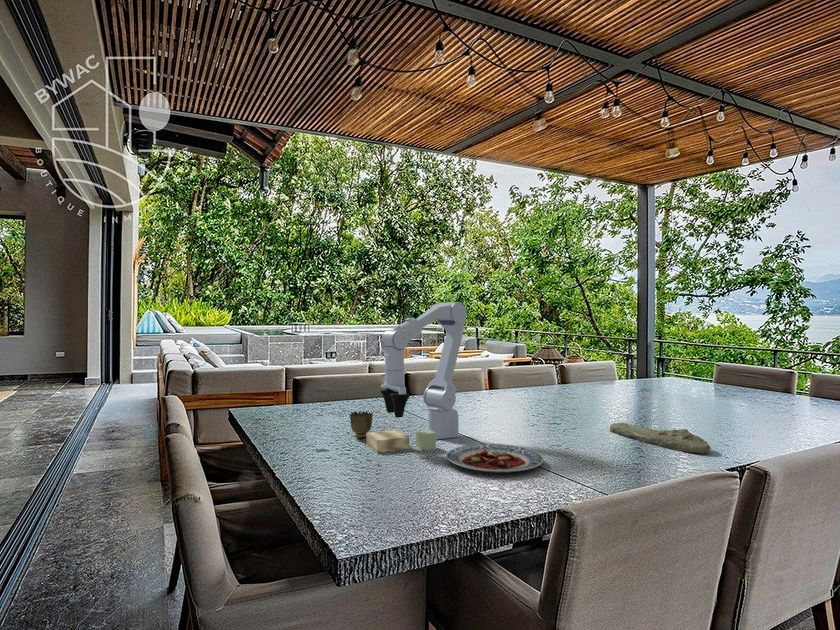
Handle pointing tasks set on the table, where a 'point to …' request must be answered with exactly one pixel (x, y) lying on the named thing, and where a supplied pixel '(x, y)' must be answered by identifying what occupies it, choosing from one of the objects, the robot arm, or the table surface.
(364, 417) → the cup
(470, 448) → the ceramic plate
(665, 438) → the elongated rock
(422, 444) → the green block
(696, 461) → the table surface
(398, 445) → the birch block
